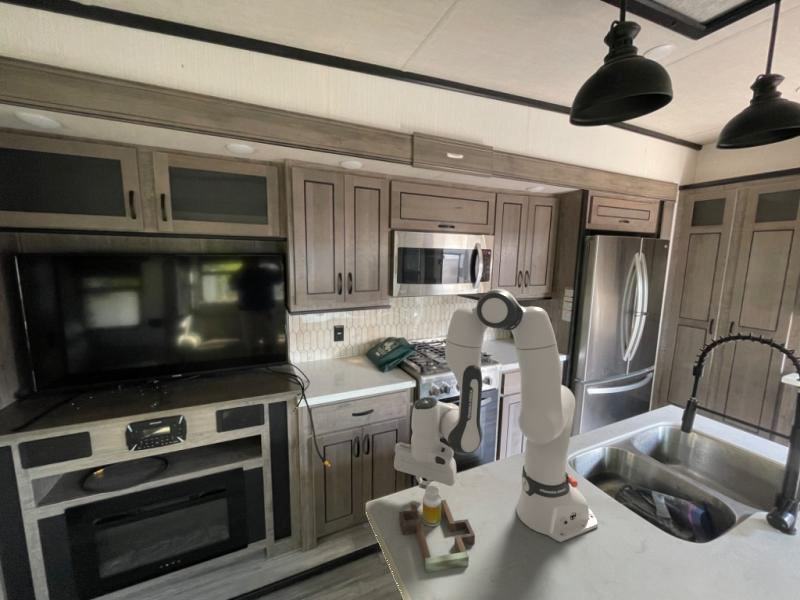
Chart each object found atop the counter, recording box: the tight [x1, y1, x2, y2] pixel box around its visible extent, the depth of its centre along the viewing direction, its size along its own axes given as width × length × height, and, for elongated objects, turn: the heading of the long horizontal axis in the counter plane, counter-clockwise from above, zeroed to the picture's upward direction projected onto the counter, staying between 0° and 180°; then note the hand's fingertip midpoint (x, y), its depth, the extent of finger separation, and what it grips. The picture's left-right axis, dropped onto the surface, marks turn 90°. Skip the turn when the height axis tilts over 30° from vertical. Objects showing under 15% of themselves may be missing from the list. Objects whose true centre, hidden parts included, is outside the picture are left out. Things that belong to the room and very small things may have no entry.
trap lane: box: [398, 499, 476, 573], centre depth 92 cm, size 19×20×2 cm
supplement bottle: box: [422, 485, 442, 527], centre depth 97 cm, size 5×5×10 cm
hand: (423, 487), depth 106 cm, fingers closed
